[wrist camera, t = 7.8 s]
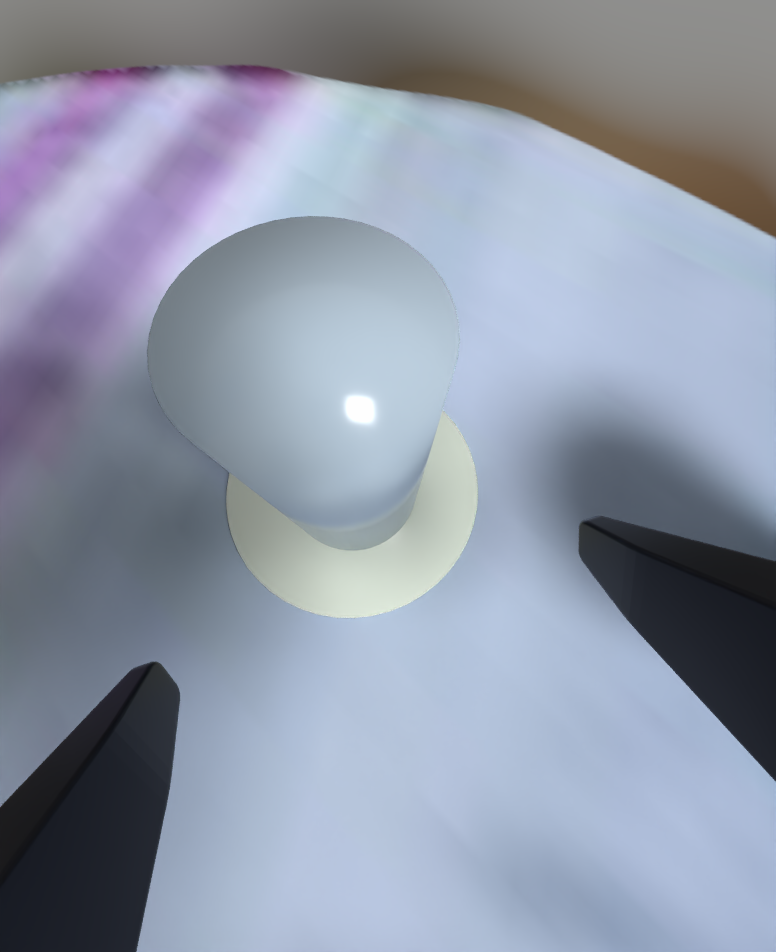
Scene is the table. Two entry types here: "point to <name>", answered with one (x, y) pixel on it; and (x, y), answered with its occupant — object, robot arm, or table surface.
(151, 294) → the table surface
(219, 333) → the grey cylinder
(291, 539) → the mat
